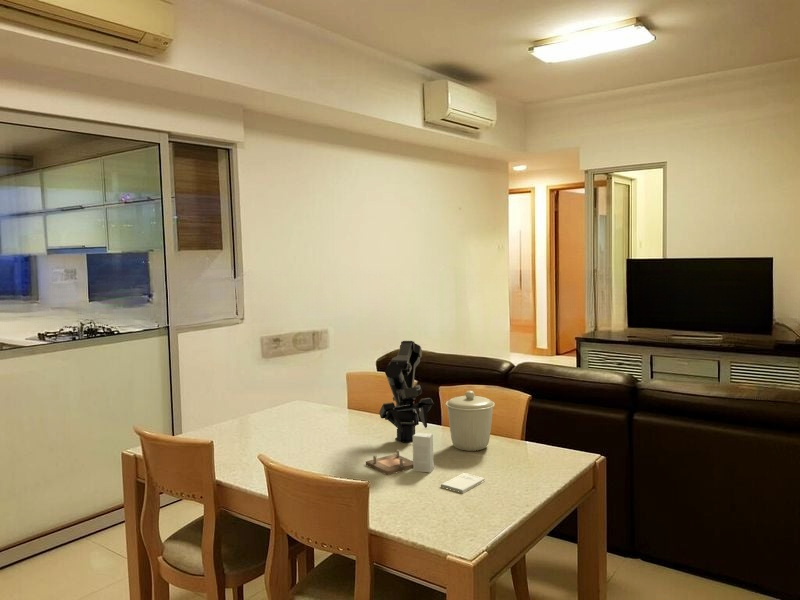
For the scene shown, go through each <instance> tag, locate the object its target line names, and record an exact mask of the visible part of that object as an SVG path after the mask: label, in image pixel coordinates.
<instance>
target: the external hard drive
mask: <svg viewBox="0 0 800 600" xmlns="http://www.w3.org/2000/svg"><path fill="white" fill-rule="evenodd" d="M484 480H485V481H486V479H485V477H481V476H478V475H474V474H471V473H467V472H463V473H461V474H458V475H457V476H454V477H452V478H451V479H449V480H447V481H445V482H442V483H441V484H440V488H442V487H444V488H443V489H445V488H448V489H447V490H449V489H451V490H450V491H452V490H455V491H454V492H456V491H459V492H461V493H460V494H465V493H466V492H465V491H467V490H468V491H470V490H471V489H470V488H472V487H474V486H475V487H477V486H478V485H477V484H479V483H481V482H482V481H484ZM485 481H484V482H485ZM481 484H482V483H481ZM476 485H477V486H476ZM479 485H480V484H479ZM475 487H474V488H475ZM469 489H470V490H469ZM472 489H473V488H472ZM468 491H467V492H468ZM459 492H458V493H459ZM464 492H465V493H464Z"/></svg>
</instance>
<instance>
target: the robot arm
mask: <svg viewBox="0 0 800 600" xmlns="http://www.w3.org/2000/svg"><path fill="white" fill-rule="evenodd" d="M422 356H423V350H422V347H421V345H419V344H418V343H415V340H414V341H413V340H402V341H401V342H400V345H399V350H398V352H397V356H394V357H392V359H391V360H390V362H388V364H387V366H386V368H385V369H384V373H385V377H386V379H387V381H388V384H389V387H390V390H391V394H392V396H393V397H392V400H393V402H386V403H383V404H382V405H381V408H380V409H379V417H380V419H384V420H385V421H388V422H390V423H391V424H392V425H393V426H395V427H396V428H397V429H396V437H395V438H394V439H395V441H399V442H401V443H404V444H407V443H411V442H413V437H412V436H413V435H414V434H415V433H416V426H418V425H419V424H420V422H419V421H421V424H422V425H423V427H424V428H425V429H427V427H428V412H430V411H431V410H432V409H431V408H432V407H433V406H434V405H435V403H434V402H433V399H432V398H431V397H426V398H420V399H419V402H417V403H414V402H416V398H418V397H419V396H420V395H422V393H423V390H422V388H421V385H420V384H417V385H415V373H416V368H417V367H418V366H419V364H420V363H421V358H422ZM394 402H395V403H394ZM419 418H420V420H419Z"/></svg>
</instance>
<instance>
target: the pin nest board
mask: <svg viewBox="0 0 800 600" xmlns="http://www.w3.org/2000/svg"><path fill="white" fill-rule="evenodd" d="M365 465H366V466H367V467H369V468H372V469H374V470H376V471H378V472H380V473H382V474H384V475H385V476H389V474H390V475H392V474H396V472H397V473H399V472H403V470H404V471H406V470H409V469H413V460H411V459H408V458H406V457H404V456H402V455H400V449H396V453H393V454H389V455H385V456H382V457H381V456H380V457H378V458H377V455H373V457H372V459H370V460H366V461H365Z"/></svg>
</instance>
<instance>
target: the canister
mask: <svg viewBox="0 0 800 600" xmlns="http://www.w3.org/2000/svg"><path fill="white" fill-rule="evenodd" d="M495 404H496V403H495V402H494V401H492V400H491V399H489V398H488V397H485V396H480V395H479V396H477V395H475V392H474V391H473V390H467V391H465V394H464V395H461V396H455V397H452V398H450V399H449V400H447V401H446V402H445V406H446V409H447V414H448V423H449V424H448V425H449V432H450V437H451V442H452V445H453V447H455V448H456V449H459V450H461V451H464V452H465V451H468V452H475V451H476V450H477V451H481V450H484V449H486V448H487V447H488V445H489V442H490V438H491V430H492V421H493V411H494V410H493V409H494V407H495V406H496V405H495Z"/></svg>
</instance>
